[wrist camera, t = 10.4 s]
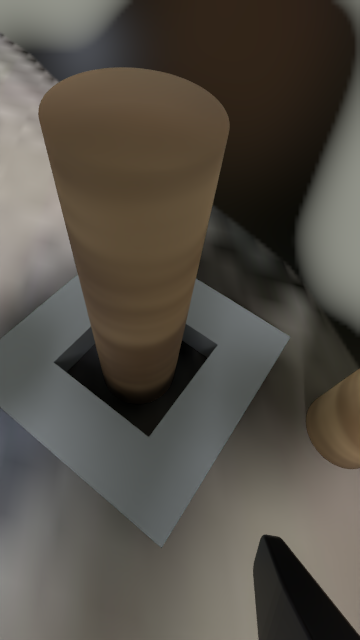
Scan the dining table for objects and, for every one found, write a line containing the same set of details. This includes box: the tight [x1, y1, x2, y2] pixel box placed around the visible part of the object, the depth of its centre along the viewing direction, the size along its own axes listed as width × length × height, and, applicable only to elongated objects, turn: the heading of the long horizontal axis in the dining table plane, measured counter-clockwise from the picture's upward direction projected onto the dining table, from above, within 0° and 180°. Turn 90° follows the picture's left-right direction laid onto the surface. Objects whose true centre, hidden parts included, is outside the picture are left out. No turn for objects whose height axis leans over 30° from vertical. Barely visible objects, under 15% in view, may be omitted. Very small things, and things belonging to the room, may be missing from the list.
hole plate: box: [0, 275, 290, 548], centre depth 18 cm, size 12×12×2 cm
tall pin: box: [38, 68, 229, 404], centre depth 13 cm, size 4×4×14 cm
